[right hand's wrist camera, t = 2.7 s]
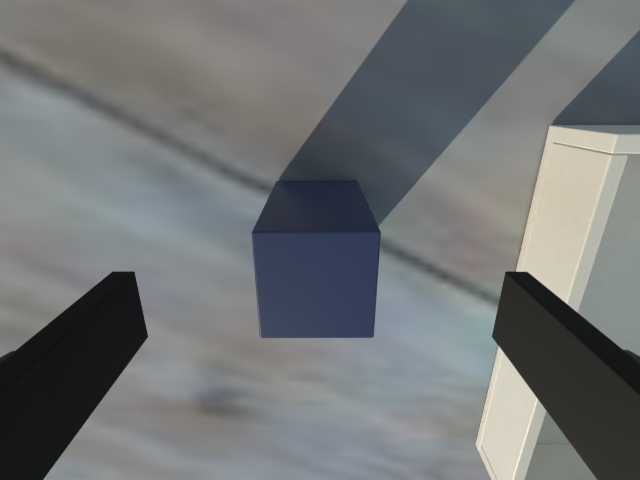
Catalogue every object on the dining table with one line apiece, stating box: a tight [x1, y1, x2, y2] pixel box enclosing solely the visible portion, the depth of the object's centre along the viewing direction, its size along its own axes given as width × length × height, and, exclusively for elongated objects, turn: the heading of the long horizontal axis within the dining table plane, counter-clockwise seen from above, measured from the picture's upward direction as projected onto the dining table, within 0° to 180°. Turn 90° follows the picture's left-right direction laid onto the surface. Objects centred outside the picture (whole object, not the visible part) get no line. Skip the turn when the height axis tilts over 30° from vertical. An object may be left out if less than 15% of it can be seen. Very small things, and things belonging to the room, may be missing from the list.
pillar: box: [252, 181, 381, 338], centre depth 17 cm, size 4×4×8 cm
